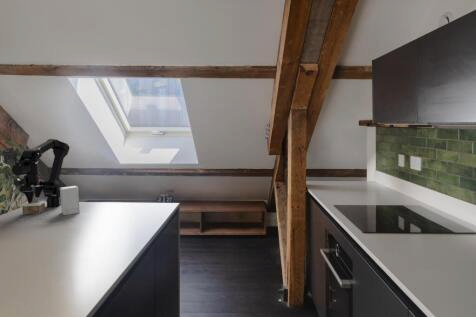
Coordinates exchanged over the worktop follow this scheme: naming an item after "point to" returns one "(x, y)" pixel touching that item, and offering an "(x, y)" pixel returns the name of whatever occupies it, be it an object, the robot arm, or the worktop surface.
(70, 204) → the skincare box
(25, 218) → the mat
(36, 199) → the lid
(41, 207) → the box
